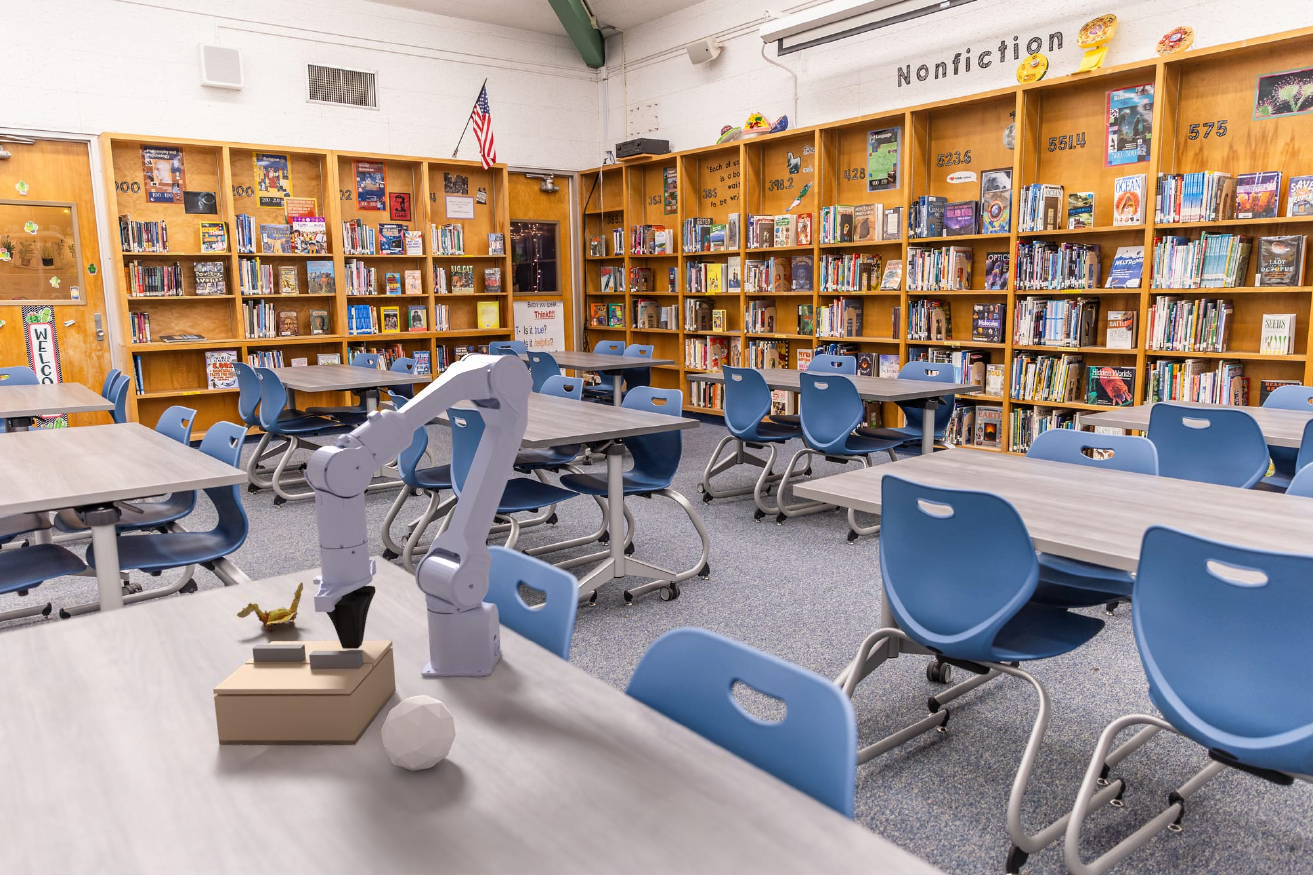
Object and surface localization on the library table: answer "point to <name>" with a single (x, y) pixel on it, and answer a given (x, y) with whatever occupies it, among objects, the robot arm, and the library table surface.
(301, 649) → the right flap
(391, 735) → the geometric ball
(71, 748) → the library table surface
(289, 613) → the yellow dragon figurine
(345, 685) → the left flap
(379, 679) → the carton
